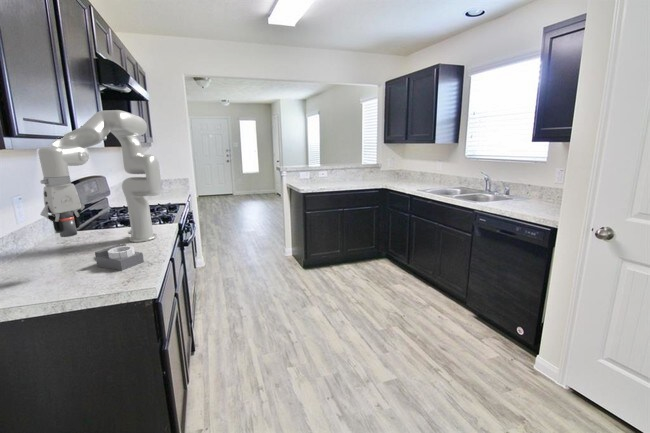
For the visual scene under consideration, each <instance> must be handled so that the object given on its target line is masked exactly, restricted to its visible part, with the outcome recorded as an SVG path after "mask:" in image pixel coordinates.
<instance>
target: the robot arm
mask: <svg viewBox="0 0 650 433" xmlns="http://www.w3.org/2000/svg"><path fill="white" fill-rule="evenodd" d="M147 130H148V124H147V122H146V121H145V120H144V118H142V117H141V116H138V115H136V114H133V113H131V112H128V111H125V110H120V109H115V110H114V109H112V110H109V109H108V110H99V111H97V112H96V113H94V114H93V115H92V116H91V117H90V118H88V120H86V121H85V123H84V124H83V125H81V126H80V127H78V128H76V129H74V130H72V131H71V130H70V131H69V132H67V133H65V134H63V135H64V137H63V138H61V139H57V138H56V139H57V140H56V139H54V140H55V141H54V140H53V141H52V142H53V143H52V142H51V143H52V144H51V143H50V144H51V147H48V146H47V147H40V148H39V149H38V150H37V152H38V153H37V154H38V157H39V163H40V168H41V171H42V177H43V178H42V179H41V180H40V184H41V185H44V186H43V203H44V207H43V209H42V210H41V212H40V216H41V217H44V218H46V219H47V220H49V221H51V222H52V223H53V224H52V225H53V228H54V230H55V231H56V232H57V233H58V232H59V233H60V232H62V231H63V229H62V224H61V221H59V216H60V213H65V212H69V211H73V215H74V220H75V225H76V229H77V228H80V221H79V217H80V214H81V213H82V211H83V210H84V209H85V207H86V206H85V205H84V204H83V203H82V202H81V200H80V196H79V194H78V190H77V187H76V186H75V184H74V183H72V181H71V177H70V171H69V167H78V166H83V165H85V164H86V163H87V162H88V161H89V159H90V158H89V156H90V155H89V152H88V151H87V150H86V148H90V147H93V146H94V147H95V146H96V145H99V144H100V143H101V142H102V141H103V140H104V139H105V138H107V136H108V135H109V134H110V133H111V134H112V135H113V136H114V137H115V138H116V140H118V141H119V143H120V145H121V151H122V162H123V169H124V171H125V173H127V174H129V175H145V176H132V177H127V178H125V179H124V180H123V181H122V183H121V190H122V192H123V194H124V198H125V201H126V205H127V211H128V218H129V222H130V223H129V224H130V225H129V226H130V230H129V231H128V232H127V234H128V235H130V237H129V242H133V243H141V242H147V241H153V240H155V239H156V238H157V237H158V235H157V233H155V232H154V229H153V223H152V217H151V216H152V215H151V210H150V202H148V200H147V198H146V197H156V196H158V195H159V194H161V191H162V181H161V169H160V163H159V160H158V159H157V157H156V156H154V155H152V154H144V153H143V147H142V143H141V141H140V140H139V139H138V137H137V136H139V137H140V136H142V135H145V134H146V132H147Z"/></svg>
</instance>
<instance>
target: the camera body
mask: <svg viewBox="0 0 650 433" xmlns="http://www.w3.org/2000/svg"><path fill="white" fill-rule="evenodd" d="M94 255H95V261H96V266H97V267H99V268H105V269H111V270H116V271H124V270H127V269H129V268H132V267H134V266H136V265H139V264H141V263H144V262H145V259H144V255H143V252H142V251H140V252H139V251H136V250H135V247H134V245H127V246H122V245H119V244H116V245H112V246H110V247H106V248H104V249H100V250H98V251H95V252H94Z"/></svg>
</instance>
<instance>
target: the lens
mask: <svg viewBox="0 0 650 433" xmlns="http://www.w3.org/2000/svg"><path fill="white" fill-rule="evenodd" d="M59 221H61V224H62V229H63V231H62V232H59V235H60V238H68V237H69V238H70V237H74V236H77V235H78V230H77V228H76V225H75V220H74V215H73V211H69V212H65V213H60V216H59Z"/></svg>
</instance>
